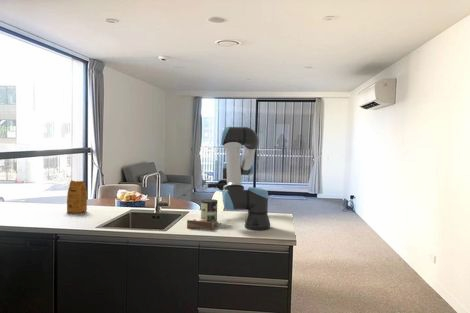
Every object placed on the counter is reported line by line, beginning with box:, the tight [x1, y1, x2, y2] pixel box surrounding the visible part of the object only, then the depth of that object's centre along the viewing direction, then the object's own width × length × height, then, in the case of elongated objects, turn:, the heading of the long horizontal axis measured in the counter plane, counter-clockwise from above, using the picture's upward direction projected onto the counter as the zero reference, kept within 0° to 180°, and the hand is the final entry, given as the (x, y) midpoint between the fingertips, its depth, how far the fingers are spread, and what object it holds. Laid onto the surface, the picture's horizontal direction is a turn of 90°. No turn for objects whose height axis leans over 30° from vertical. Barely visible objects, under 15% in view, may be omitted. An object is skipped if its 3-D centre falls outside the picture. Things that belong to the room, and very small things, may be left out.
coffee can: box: [200, 198, 218, 222], centre depth 218 cm, size 10×10×14 cm
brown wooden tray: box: [186, 219, 218, 231], centre depth 207 cm, size 10×15×4 cm
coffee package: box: [66, 180, 88, 214], centre depth 245 cm, size 10×12×22 cm
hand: (213, 187), depth 227 cm, fingers open, 13 cm apart
